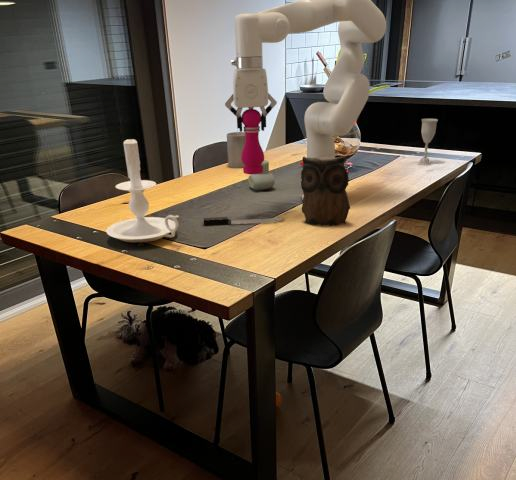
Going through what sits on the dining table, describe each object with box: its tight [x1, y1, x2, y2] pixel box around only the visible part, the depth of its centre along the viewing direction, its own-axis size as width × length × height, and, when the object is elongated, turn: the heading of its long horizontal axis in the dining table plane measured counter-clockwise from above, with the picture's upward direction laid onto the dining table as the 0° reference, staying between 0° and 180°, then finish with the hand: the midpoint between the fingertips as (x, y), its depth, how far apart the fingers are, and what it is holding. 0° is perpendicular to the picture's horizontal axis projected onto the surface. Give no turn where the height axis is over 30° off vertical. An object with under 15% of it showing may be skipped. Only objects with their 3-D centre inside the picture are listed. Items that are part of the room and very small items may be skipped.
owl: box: [300, 156, 351, 227], centre depth 163 cm, size 13×13×20 cm
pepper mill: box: [241, 107, 265, 175], centre depth 164 cm, size 7×7×20 cm
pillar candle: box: [226, 130, 246, 169], centre depth 239 cm, size 10×10×15 cm
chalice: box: [418, 118, 439, 166], centre depth 231 cm, size 7×7×18 cm
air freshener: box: [247, 159, 276, 191], centre depth 204 cm, size 11×8×10 cm
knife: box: [203, 216, 284, 227], centre depth 170 cm, size 25×4×2 cm, turn 95°
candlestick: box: [106, 138, 180, 244], centre depth 152 cm, size 21×25×28 cm
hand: (251, 129), depth 163 cm, fingers closed on pepper mill, 6 cm apart
